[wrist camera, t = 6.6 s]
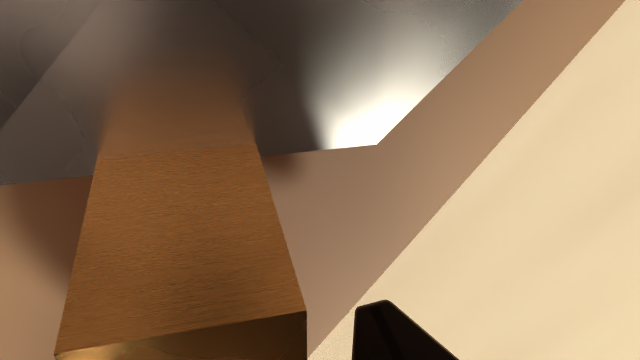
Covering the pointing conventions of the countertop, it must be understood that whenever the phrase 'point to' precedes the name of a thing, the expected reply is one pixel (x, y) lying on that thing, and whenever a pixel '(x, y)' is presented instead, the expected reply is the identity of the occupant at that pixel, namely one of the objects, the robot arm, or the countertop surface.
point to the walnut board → (324, 183)
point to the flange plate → (204, 148)
